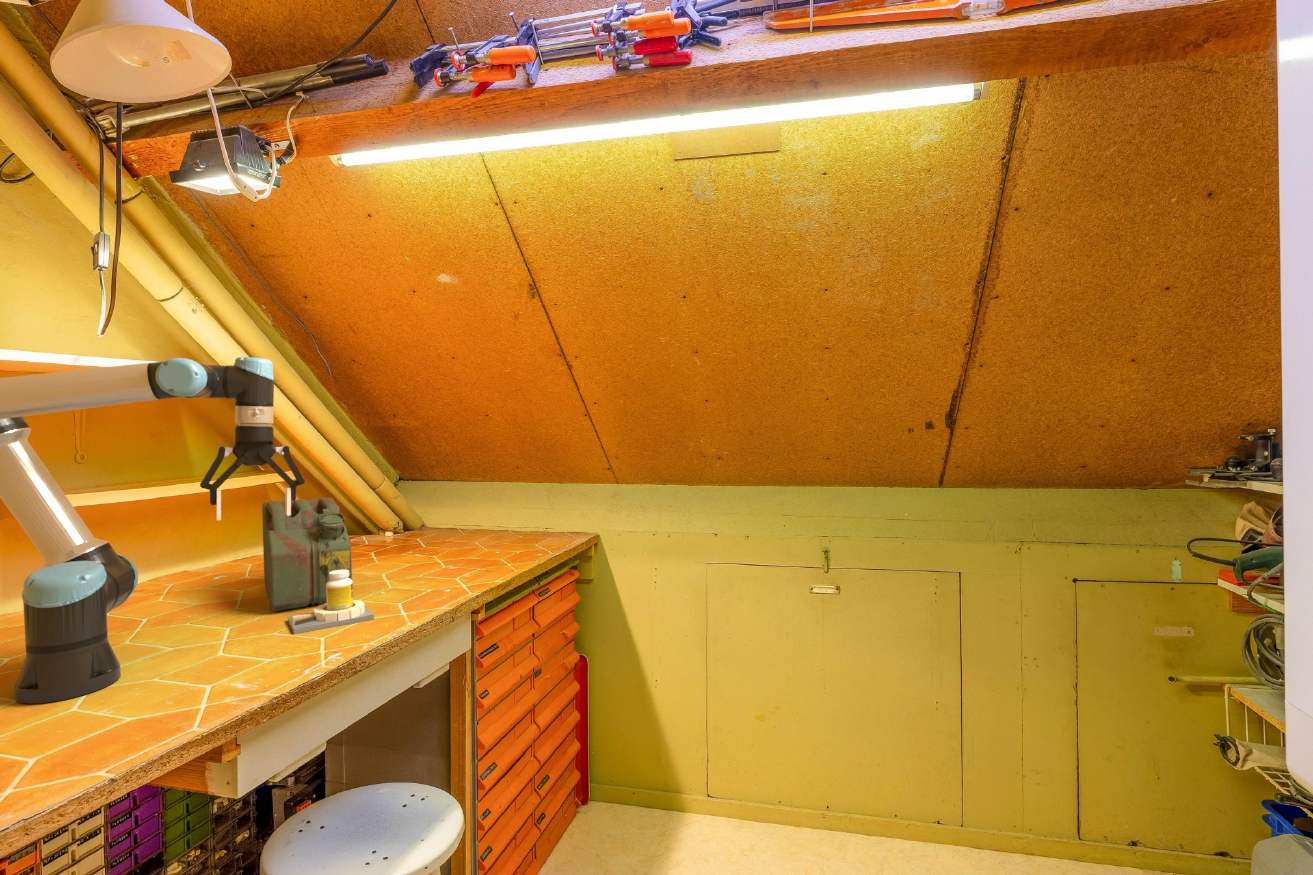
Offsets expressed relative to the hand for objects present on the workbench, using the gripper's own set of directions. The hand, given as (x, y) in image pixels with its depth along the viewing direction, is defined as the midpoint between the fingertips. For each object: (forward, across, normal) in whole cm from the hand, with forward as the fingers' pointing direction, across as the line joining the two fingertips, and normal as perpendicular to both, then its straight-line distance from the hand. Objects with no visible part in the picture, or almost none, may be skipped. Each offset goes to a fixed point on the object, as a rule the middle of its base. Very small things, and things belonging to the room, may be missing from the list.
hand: (254, 517), depth 145 cm
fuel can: (+29, +17, +37) cm, 50 cm away
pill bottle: (+28, +20, +6) cm, 34 cm away
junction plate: (+29, +17, +6) cm, 34 cm away
